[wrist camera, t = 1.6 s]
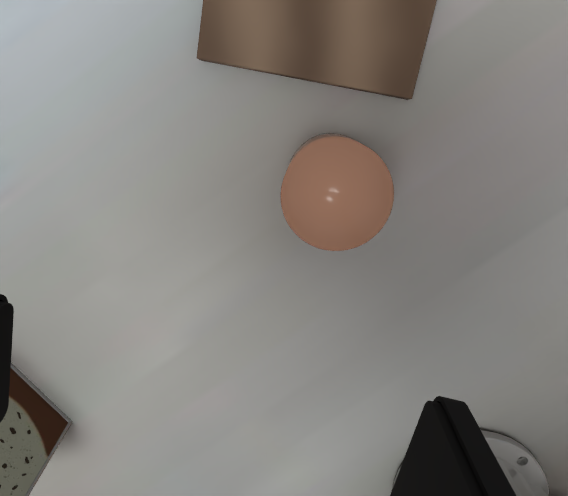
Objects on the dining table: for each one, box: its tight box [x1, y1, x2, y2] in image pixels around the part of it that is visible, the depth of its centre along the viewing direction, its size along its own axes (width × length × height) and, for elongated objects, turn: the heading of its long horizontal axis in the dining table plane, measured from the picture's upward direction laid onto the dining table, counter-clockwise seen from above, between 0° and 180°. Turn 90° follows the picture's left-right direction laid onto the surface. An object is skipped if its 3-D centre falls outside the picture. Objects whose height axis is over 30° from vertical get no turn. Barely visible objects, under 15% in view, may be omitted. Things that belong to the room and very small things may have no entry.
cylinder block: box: [281, 133, 394, 251], centre depth 28 cm, size 6×6×8 cm
